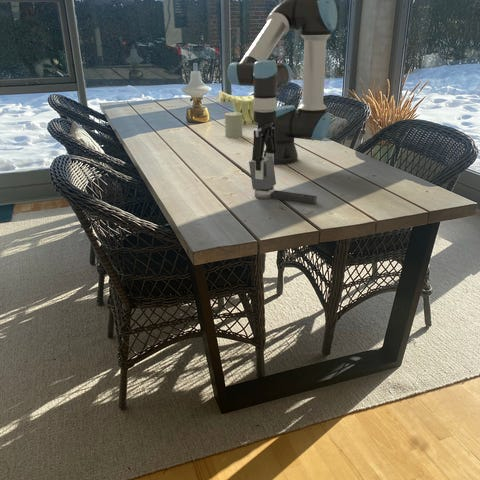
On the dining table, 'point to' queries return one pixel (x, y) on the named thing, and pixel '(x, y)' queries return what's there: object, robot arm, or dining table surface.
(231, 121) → the can
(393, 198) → the dining table surface
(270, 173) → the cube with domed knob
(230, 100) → the slatted curved stool
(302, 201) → the ratchet
